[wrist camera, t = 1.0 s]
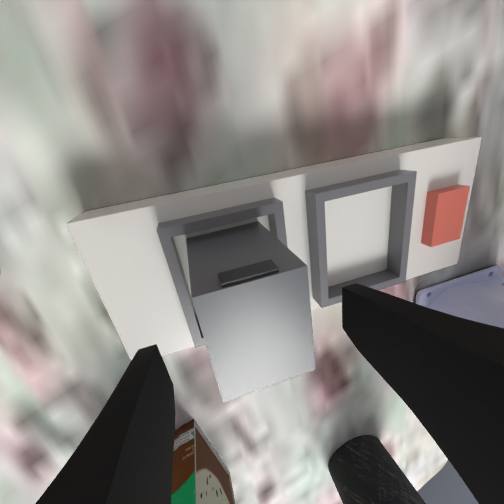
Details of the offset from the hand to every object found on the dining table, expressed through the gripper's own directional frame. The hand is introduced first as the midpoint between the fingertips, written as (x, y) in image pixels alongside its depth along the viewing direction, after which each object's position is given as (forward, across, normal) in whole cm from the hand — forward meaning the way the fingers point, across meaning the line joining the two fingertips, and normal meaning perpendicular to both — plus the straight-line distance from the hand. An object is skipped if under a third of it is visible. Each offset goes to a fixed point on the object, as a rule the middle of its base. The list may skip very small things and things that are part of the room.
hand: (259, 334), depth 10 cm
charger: (+6, 0, 0) cm, 6 cm away
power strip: (+8, -5, 0) cm, 10 cm away
